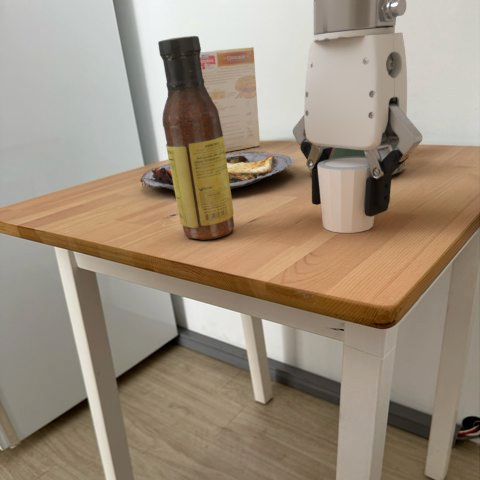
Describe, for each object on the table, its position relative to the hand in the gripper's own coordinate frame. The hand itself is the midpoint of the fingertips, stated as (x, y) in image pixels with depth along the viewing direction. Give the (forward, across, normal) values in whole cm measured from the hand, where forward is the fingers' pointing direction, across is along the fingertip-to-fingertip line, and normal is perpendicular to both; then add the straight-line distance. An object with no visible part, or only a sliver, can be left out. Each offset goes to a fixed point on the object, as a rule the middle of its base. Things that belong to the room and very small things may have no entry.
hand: (348, 206), depth 53 cm
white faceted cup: (+2, 0, 0) cm, 2 cm away
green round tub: (+2, +16, -21) cm, 26 cm away
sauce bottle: (+2, +11, +12) cm, 16 cm away
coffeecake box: (+2, +55, -24) cm, 60 cm away
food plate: (+2, +32, -5) cm, 32 cm away
